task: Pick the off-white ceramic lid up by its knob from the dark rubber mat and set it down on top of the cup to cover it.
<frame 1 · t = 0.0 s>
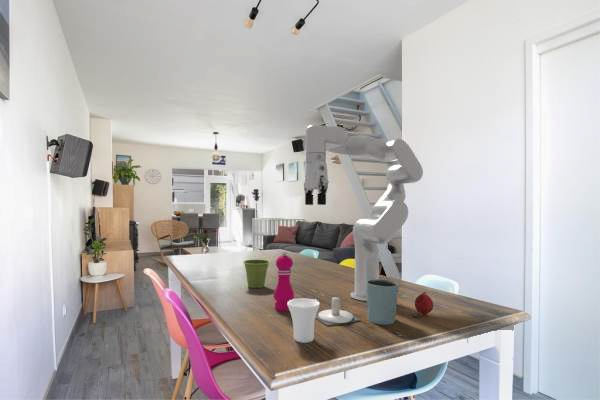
hand: (315, 204, 123), 37 cm above the table, tool pointing down, fingers open, 9 cm apart
plant pot: (256, 287, 148), on the table
cup: (303, 339, 90), on the table
pepper mill: (283, 308, 117), on the table
blue round container: (382, 320, 105), on the table
onion: (423, 316, 111), on the table
mat: (335, 318, 106), on the table
lid: (335, 317, 106), resting on mat
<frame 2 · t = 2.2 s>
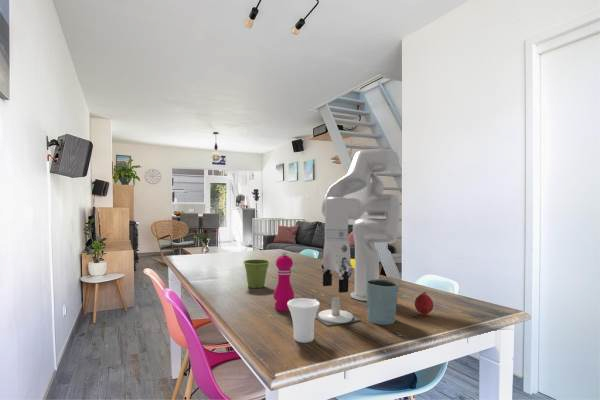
hand: (335, 288, 106), 10 cm above the table, tool pointing down, fingers open, 9 cm apart
nothing on the table moved.
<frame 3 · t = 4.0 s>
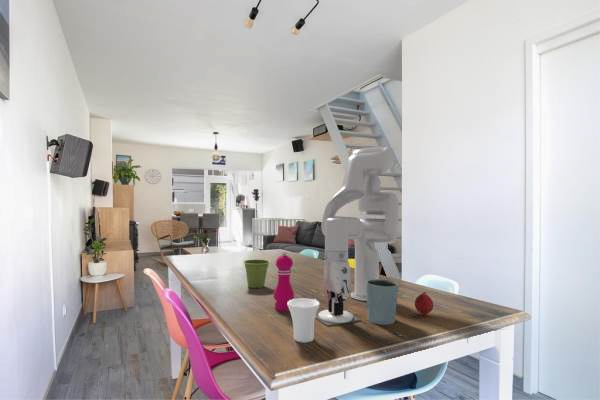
hand: (335, 312, 106), 2 cm above the table, tool pointing down, fingers closed on lid, 2 cm apart
lid: (335, 317, 106), point 1 cm above the table, touching gripper, mat
everything else where it was.
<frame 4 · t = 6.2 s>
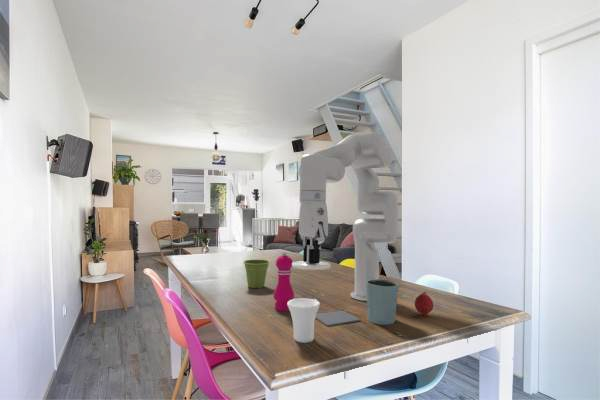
hand: (311, 261, 94), 20 cm above the table, tool pointing down, fingers closed on lid, 2 cm apart
lid: (311, 266, 94), point 19 cm above the table, touching gripper
everything else where it was.
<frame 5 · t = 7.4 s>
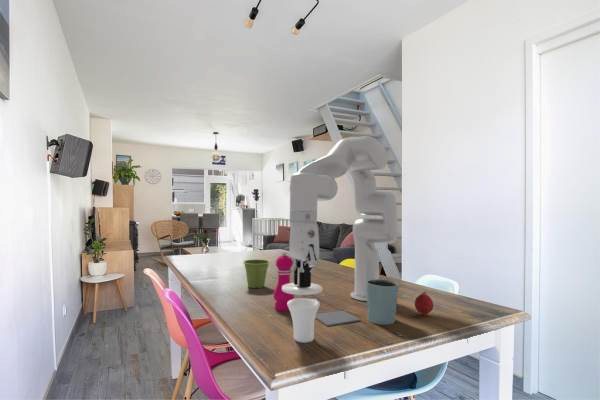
hand: (302, 285, 90), 14 cm above the table, tool pointing down, fingers closed on lid, 2 cm apart
lid: (301, 289, 90), point 13 cm above the table, touching gripper
everything else where it was.
when the fingers open (13 cm above the table, at t = 8.3 s): lid drops 2 cm, resting on cup.
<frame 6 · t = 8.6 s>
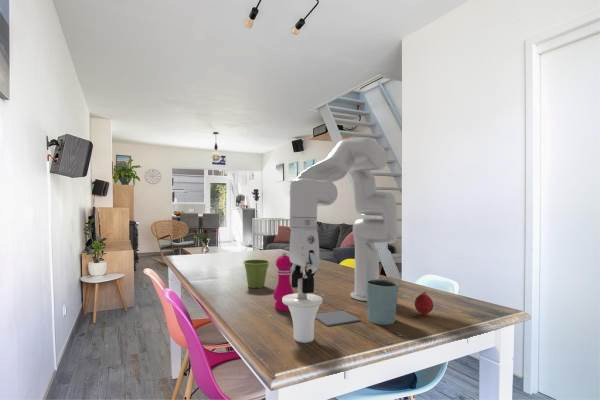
hand: (302, 289, 90), 13 cm above the table, tool pointing down, fingers open, 6 cm apart
cup: (303, 339, 90), on the table, touching lid
lid: (302, 301, 90), point 10 cm above the table, touching cup
everything else where it was.
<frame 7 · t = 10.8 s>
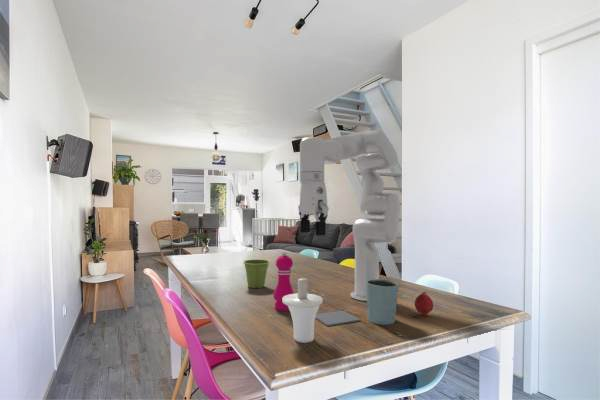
hand: (312, 233, 102), 28 cm above the table, tool pointing down, fingers open, 9 cm apart
nothing on the table moved.
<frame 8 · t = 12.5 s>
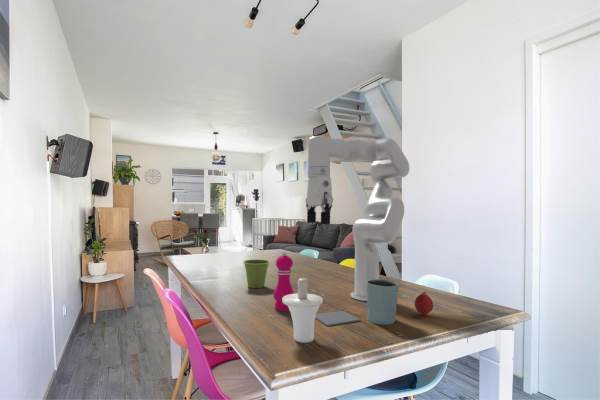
hand: (318, 223, 112), 30 cm above the table, tool pointing down, fingers open, 9 cm apart
nothing on the table moved.
at the end: lid 0.4 cm off-centre on the cup, point 10.2 cm above the cup's base; lid tilted 0°; the gripper is holding nothing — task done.
